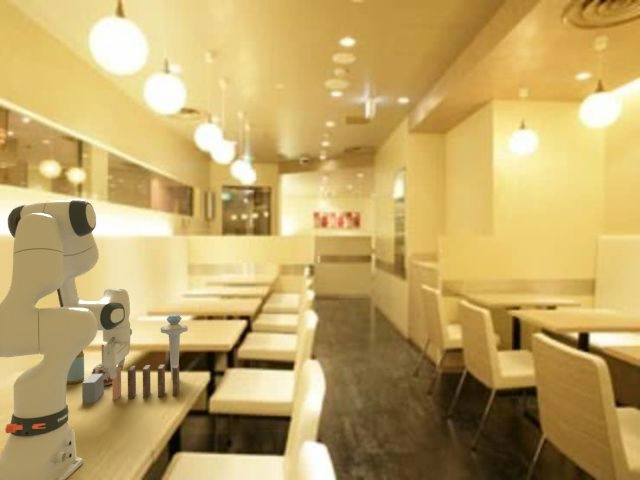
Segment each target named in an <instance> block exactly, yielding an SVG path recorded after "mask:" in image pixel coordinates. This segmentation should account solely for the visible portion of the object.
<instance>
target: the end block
mask: <svg viewBox="0 0 640 480" xmlns="http://www.w3.org/2000/svg"><path fill="white" fill-rule="evenodd" d="M81 385H82V386H81V391H82V392H81V393H82V394H81V395H82V396H81V397H82V400H81V401H82V404H96V402H97V401H99V399H100V398H101V397H102V396H103V395H104V393H105V392H104V391H105V389H104V388H105V385H104V379H103V374H92V373H91V374H90V375H89V376H88V377H86V379H84V380H83V381H82V382H81Z"/></svg>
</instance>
